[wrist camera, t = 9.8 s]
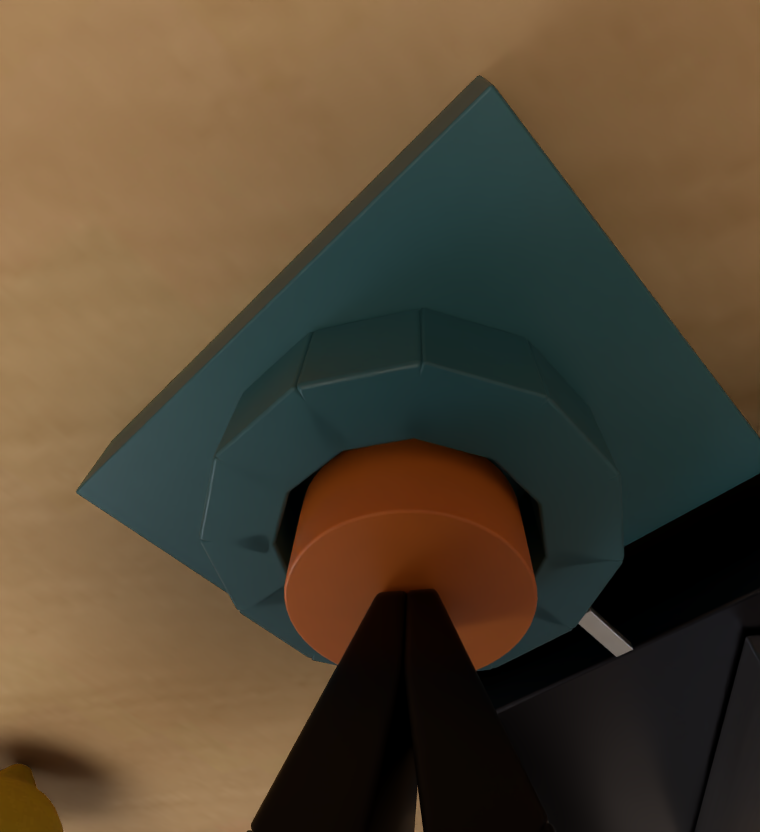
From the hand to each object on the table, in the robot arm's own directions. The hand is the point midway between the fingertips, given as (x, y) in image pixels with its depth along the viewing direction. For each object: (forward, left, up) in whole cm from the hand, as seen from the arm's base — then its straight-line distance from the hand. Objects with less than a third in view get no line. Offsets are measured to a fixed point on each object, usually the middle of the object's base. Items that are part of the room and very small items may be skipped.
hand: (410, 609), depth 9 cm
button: (0, 0, -2) cm, 2 cm away
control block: (0, 0, -5) cm, 5 cm away
